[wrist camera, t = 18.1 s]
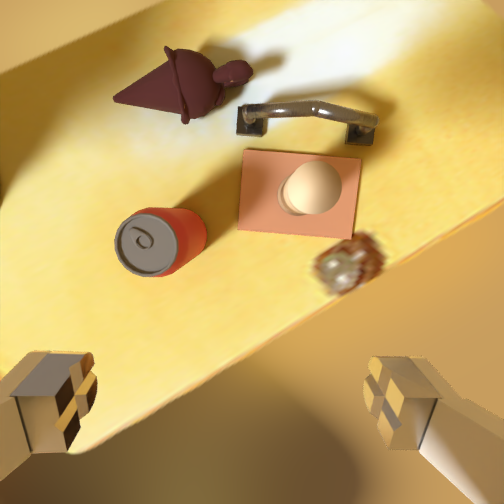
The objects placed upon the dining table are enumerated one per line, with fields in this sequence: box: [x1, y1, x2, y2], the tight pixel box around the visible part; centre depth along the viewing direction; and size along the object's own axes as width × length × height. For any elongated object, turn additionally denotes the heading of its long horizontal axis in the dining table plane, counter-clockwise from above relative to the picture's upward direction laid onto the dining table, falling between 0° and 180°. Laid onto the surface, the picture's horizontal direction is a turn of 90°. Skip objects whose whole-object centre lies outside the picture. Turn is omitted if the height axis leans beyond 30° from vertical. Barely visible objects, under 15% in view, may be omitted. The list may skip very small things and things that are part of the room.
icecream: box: [113, 46, 253, 125], centre depth 31 cm, size 7×7×15 cm
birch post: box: [277, 161, 342, 216], centre depth 30 cm, size 5×5×11 cm
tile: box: [238, 149, 361, 239], centre depth 36 cm, size 14×10×1 cm
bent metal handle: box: [236, 100, 380, 146], centre depth 31 cm, size 16×3×7 cm, turn 85°
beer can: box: [114, 207, 207, 277], centre depth 31 cm, size 7×7×12 cm
